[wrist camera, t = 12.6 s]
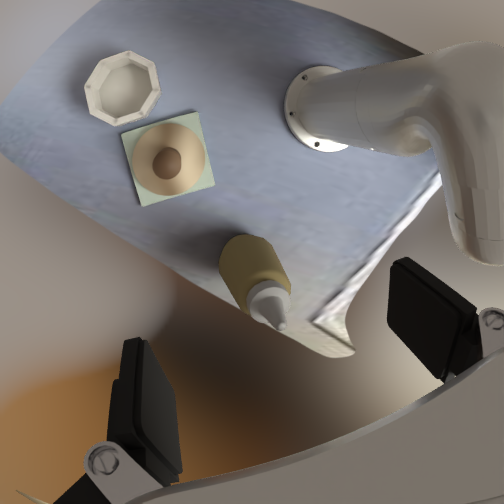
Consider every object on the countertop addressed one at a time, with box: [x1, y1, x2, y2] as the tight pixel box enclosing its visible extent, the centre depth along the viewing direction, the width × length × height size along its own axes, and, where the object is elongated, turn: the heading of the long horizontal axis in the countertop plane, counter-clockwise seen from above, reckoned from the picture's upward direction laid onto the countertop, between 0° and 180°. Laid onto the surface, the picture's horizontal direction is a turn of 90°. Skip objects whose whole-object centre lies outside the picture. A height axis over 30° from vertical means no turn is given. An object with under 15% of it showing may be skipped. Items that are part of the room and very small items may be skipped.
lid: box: [132, 123, 205, 196], centre depth 35 cm, size 9×9×6 cm
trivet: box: [121, 112, 215, 207], centre depth 38 cm, size 10×10×1 cm
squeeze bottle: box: [218, 234, 291, 331], centre depth 38 cm, size 8×8×18 cm
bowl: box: [84, 50, 162, 126], centre depth 31 cm, size 8×8×5 cm
